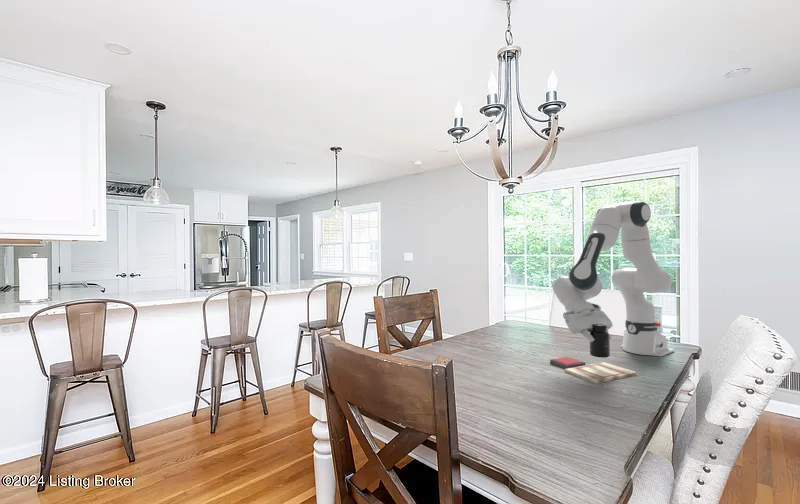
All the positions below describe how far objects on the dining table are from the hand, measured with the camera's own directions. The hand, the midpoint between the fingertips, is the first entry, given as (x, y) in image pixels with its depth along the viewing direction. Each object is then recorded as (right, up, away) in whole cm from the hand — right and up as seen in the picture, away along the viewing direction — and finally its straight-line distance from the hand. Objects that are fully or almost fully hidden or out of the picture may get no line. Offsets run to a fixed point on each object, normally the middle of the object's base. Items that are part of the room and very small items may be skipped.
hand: (601, 340), depth 143 cm
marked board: (0, -13, +1) cm, 13 cm away
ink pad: (-8, -13, +11) cm, 19 cm away
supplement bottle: (0, -6, +1) cm, 6 cm away
